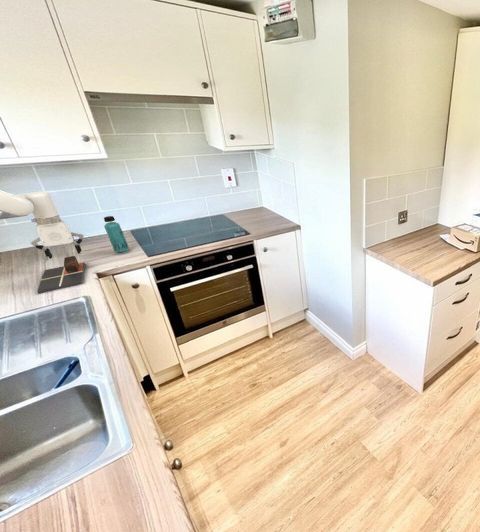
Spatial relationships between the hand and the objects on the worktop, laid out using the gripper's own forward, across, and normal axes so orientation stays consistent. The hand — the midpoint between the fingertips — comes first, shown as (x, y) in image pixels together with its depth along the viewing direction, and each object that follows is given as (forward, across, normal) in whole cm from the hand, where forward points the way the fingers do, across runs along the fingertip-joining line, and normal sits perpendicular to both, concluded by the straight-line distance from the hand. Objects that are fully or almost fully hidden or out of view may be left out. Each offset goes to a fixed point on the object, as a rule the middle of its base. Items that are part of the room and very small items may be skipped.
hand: (65, 255), depth 150 cm
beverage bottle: (+8, +19, +13) cm, 25 cm away
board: (+9, -3, -6) cm, 11 cm away
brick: (+7, +1, 0) cm, 8 cm away
